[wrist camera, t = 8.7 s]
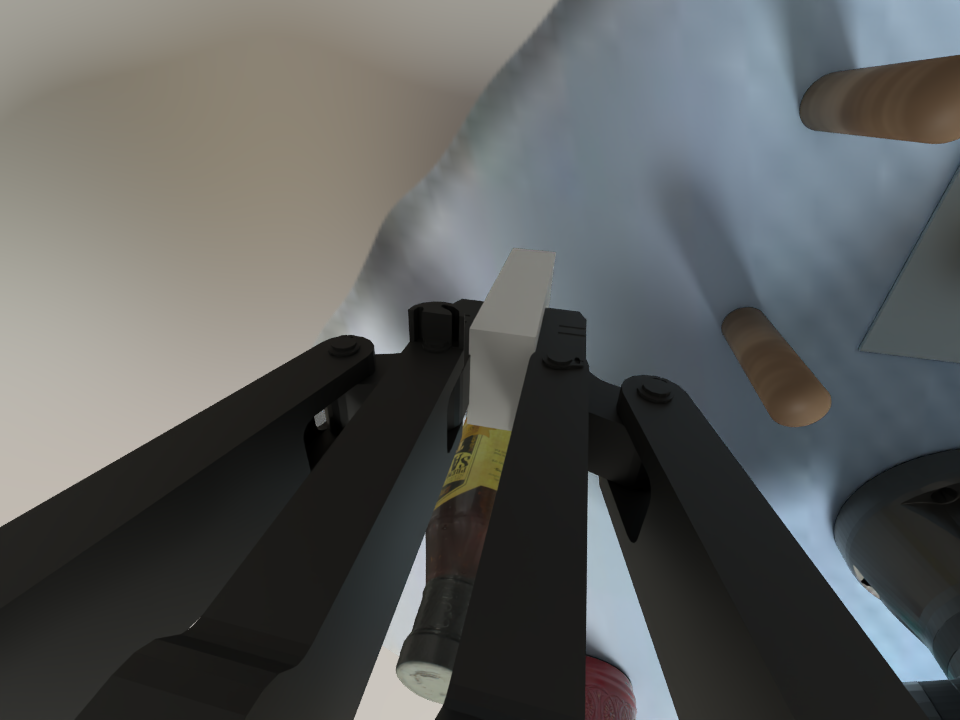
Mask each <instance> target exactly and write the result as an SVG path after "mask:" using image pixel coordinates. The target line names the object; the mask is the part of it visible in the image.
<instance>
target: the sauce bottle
mask: <svg viewBox="0 0 960 720" xmlns="http://www.w3.org/2000/svg"><path fill="white" fill-rule="evenodd" d="M511 432H512V431H507V430H501V429H496V428H490V427H484V426H478V425H472V424H467V417H466V420H465V423H464V425H463V431H462V438H461V441H460V443H459V446H458V448H457V451H456V454H455V456H454V459H453V461H452V464H451V467H450V469H449V472H448V474H447V477H446V480H445V482H444V485H443V488H442V490H441V493H440V495H439V498H438V501H437V503H436V506H435V508H434V511H433V514H432V516H431V519H430V521H429V524H428V527H427V529H426V587H425V588H424V591H423V597H422V601H421V605H420V607H419V610H418V613H417V616H416V618H415V622H414V625H413V629H412V632H411V633H410V634H409V636H408V637H407V638H406V640H405V641H404V643H403V646H402V649H401V652H400V656H399V660H398V663H397V666H396V674H397V677H398V678H399V680H400V681H401V682H402V683H403V684H404V685H405V686H406V687H407V688H408V689H410V690H411V691H413V692H414V693H416V694H417V695H419V696H421V697H423V698H425V699H427V700H431V701H434V702H437V703H441V704H443V703H444V700H445V698H446V694H447V690H448V687H449V683H450V679H451V675H452V671H453V667H454V663H455V659H456V654H457V650H458V646H459V642H460V638H461V634H462V630H463V626H464V622H465V618H466V614H467V610H468V606H469V602H470V598H471V594H472V590H473V586H474V582H475V577H476V573H477V569H478V565H479V561H480V557H481V553H482V549H483V545H484V541H485V537H486V533H487V529H488V525H489V521H490V517H491V513H492V509H493V505H494V500H495V496H496V492H497V488H498V484H499V480H500V476H501V472H502V468H503V464H504V460H505V456H506V452H507V448H508V444H509V440H510V436H511Z"/></svg>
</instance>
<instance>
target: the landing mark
mask: <svg viewBox="0 0 960 720" xmlns="http://www.w3.org/2000/svg"><path fill="white" fill-rule="evenodd" d="M858 350H859V351H864V352H872V353H880V354H888V355H896V356H905V357H913V358H921V359H929V360H937V361H946V362H954V363H960V166H959V168H958V170H957V171H956V173H955V175H954V177H953V179H952V180H951V182H950V184H949V186H948V188H947V189H946V191H945V193H944V195H943V197H942V199H941V200H940V202H939V204H938V206H937V208H936V209H935V211H934V213H933V215H932V217H931V218H930V220H929V222H928V224H927V226H926V228H925V229H924V231H923V233H922V235H921V237H920V238H919V240H918V242H917V244H916V246H915V247H914V249H913V251H912V253H911V255H910V257H909V258H908V260H907V262H906V264H905V266H904V267H903V269H902V271H901V273H900V275H899V276H898V278H897V280H896V282H895V284H894V285H893V287H892V289H891V291H890V293H889V295H888V296H887V298H886V300H885V302H884V304H883V305H882V307H881V309H880V311H879V313H878V314H877V316H876V318H875V320H874V322H873V324H872V325H871V327H870V329H869V331H868V333H867V334H866V336H865V338H864V340H863V342H862V343H861V345H860V347H859V349H858Z"/></svg>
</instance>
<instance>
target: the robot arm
mask: <svg viewBox="0 0 960 720" xmlns="http://www.w3.org/2000/svg"><path fill="white" fill-rule="evenodd" d="M555 256H556V252H549V251H539V250H529V249H519V248H513V249H512V251H511V253H510V255H509V257H508V258H507V260H506V262H505V264H504V266H503V268H502V270H501V271H500V273H499V275H498V277H497V279H496V281H495V282H494V284H493V286H492V288H491V290H490V292H489V293H488V295H487V297H486V299H485V301H476V300H467V299H461V300H459V301H457V302H455V303H453V304H451V303H446V302H426V303H421V304H418V305H415V306H413V307H411V308H410V309H408V316H409V335H410V342H409V343H408V345H407V346H406V347H405V349H404V350H403V351H402V353H396V354H375V351H374V345H373V343H372V342H371V341H370V340H368V339H366V338H364V337H359V336H355V335H348V336H347V335H342V336H339V337H335V338H331V339H328V340H326V341H324V342H322V343H320V344H318V345H316V346H315V347H313V348H311V349H309V350H308V351H306V352H304V353H303V354H301V355H299V356H297V357H296V358H294V359H292V360H290V361H289V362H287V363H285V364H283V365H282V366H280V367H278V368H276V369H275V370H273V371H271V372H269V373H268V374H266V375H264V376H263V377H261V378H259V379H257V380H255V381H254V382H252V383H250V384H249V385H247V386H245V387H243V388H242V389H240V390H238V391H236V392H235V393H233V394H231V395H230V396H228V397H226V398H224V399H222V400H221V401H219V402H217V403H216V404H214V405H212V406H210V407H209V408H207V409H205V410H203V411H202V412H200V413H198V414H196V415H195V416H193V417H191V418H189V419H188V420H186V421H184V422H183V423H181V424H179V425H177V426H175V427H174V428H172V429H170V430H169V431H167V432H165V433H163V434H162V435H160V436H158V437H156V438H155V439H153V440H151V441H149V442H148V443H146V444H144V445H143V446H141V447H139V448H137V449H135V450H134V451H132V452H130V453H128V454H127V455H125V456H123V457H122V458H120V459H118V460H116V461H115V462H113V463H111V464H109V465H108V466H106V467H104V468H102V469H101V470H99V471H97V472H95V473H94V474H92V475H90V476H88V477H87V478H85V479H83V480H82V481H80V482H78V483H76V484H75V485H73V486H71V487H69V488H68V489H66V490H64V491H62V492H61V493H59V494H57V495H55V496H54V497H52V498H50V499H49V500H47V501H45V502H43V503H42V504H40V505H38V506H36V507H35V508H33V509H31V510H29V511H28V512H26V513H24V514H22V515H21V516H19V517H17V518H15V519H14V520H12V521H10V522H8V523H7V524H5V525H3V526H1V527H0V720H354V717H355V714H356V712H357V709H358V707H359V704H360V701H361V699H362V696H363V694H364V691H365V688H366V686H367V683H368V680H369V678H370V675H371V673H372V670H373V667H374V665H375V662H376V660H377V657H378V654H379V652H380V649H381V647H382V644H383V641H384V639H385V636H386V634H387V631H388V628H389V626H390V623H391V621H392V618H393V615H394V613H395V610H396V607H397V605H398V602H399V600H400V597H401V594H402V592H403V589H404V587H405V584H406V581H407V579H408V576H409V574H410V571H411V568H412V566H413V563H414V561H415V558H416V555H417V553H418V550H419V547H420V545H421V542H422V540H423V537H424V534H425V532H426V529H427V527H428V524H429V521H430V519H431V516H432V514H433V511H434V508H435V506H436V503H437V501H438V498H439V495H440V493H441V490H442V488H443V485H444V482H445V480H446V477H447V474H448V472H449V469H450V467H451V464H452V461H453V459H454V456H455V454H456V451H457V448H458V446H459V443H460V441H461V438H462V431H463V418H464V415H465V413H466V410H467V424H472V425H478V426H484V427H490V428H496V429H501V430H507V431H512V432H511V436H510V440H509V444H508V448H507V452H506V456H505V460H504V464H503V468H502V472H501V476H500V480H499V484H498V488H497V492H496V496H495V500H494V505H493V509H492V513H491V517H490V521H489V525H488V529H487V533H486V537H485V541H484V545H483V549H482V553H481V557H480V561H479V565H478V569H477V573H476V577H475V582H474V586H473V590H472V594H471V598H470V602H469V606H468V610H467V614H466V618H465V622H464V626H463V630H462V634H461V638H460V642H459V646H458V650H457V654H456V659H455V663H454V667H453V671H452V675H451V679H450V683H449V687H448V690H447V694H446V698H445V700H444V703H443V706H442V708H441V710H440V712H439V713H438V715H437V717H436V718H435V720H585V683H586V593H587V504H588V471H589V472H591V473H594V474H596V475H598V476H599V485H600V488H601V491H602V494H603V497H604V500H605V503H606V506H607V509H608V512H609V515H610V518H611V521H612V524H613V527H614V529H615V532H616V535H617V538H618V541H619V544H620V547H621V550H622V553H623V556H624V559H625V562H626V565H627V568H628V571H629V574H630V577H631V580H632V583H633V586H634V589H635V591H636V594H637V597H638V600H639V603H640V606H641V609H642V612H643V615H644V618H645V621H646V624H647V627H648V630H649V633H650V636H651V639H652V642H653V645H654V648H655V651H656V654H657V656H658V659H659V662H660V665H661V668H662V671H663V674H664V677H665V680H666V683H667V686H668V689H669V692H670V695H671V698H672V701H673V704H674V707H675V710H676V713H677V716H678V718H679V720H960V449H957V450H950V451H945V452H940V453H936V454H932V455H928V456H924V457H921V458H917V459H914V460H911V461H908V462H906V463H903V464H901V465H898V466H896V467H894V468H891V469H889V470H887V471H885V472H883V473H882V474H880V475H878V476H876V477H875V478H873V479H872V480H870V481H868V482H867V483H866V484H864V485H863V486H862V487H861V488H859V489H858V490H857V491H856V492H855V493H854V494H853V495H852V496H851V497H850V498H849V499H848V500H847V501H846V503H845V504H844V505H843V507H842V509H841V510H840V512H839V514H838V516H837V519H836V523H835V529H834V536H835V541H836V544H837V547H838V549H839V551H840V553H841V554H842V556H843V558H844V560H845V561H846V563H847V565H848V567H849V569H850V570H851V572H852V574H853V575H854V576H855V577H856V579H857V580H858V581H859V582H860V583H861V585H862V586H863V587H864V588H866V589H867V590H868V591H869V592H870V593H871V594H873V595H874V596H875V597H877V598H878V599H880V600H881V601H882V602H883V604H884V605H885V606H886V607H887V608H888V609H889V610H890V611H891V612H892V614H893V615H894V616H895V617H896V618H897V619H898V620H899V621H900V622H901V623H902V624H903V625H904V626H906V627H907V628H908V629H909V630H910V631H911V632H912V633H913V634H914V635H915V636H916V637H917V638H918V639H919V640H920V641H921V642H922V643H923V644H924V645H925V646H926V647H927V648H928V649H929V650H930V651H931V653H932V655H933V656H934V658H935V659H936V661H937V662H938V664H939V665H940V667H941V669H942V670H943V672H944V673H945V675H946V676H947V678H948V680H938V681H923V682H917V681H916V682H901V681H900V679H899V678H898V677H897V675H896V674H895V672H894V671H893V670H892V668H891V667H890V666H889V664H888V663H887V662H886V660H885V659H884V658H883V656H882V655H881V654H880V652H879V651H878V650H877V648H876V647H875V646H874V644H873V643H872V642H871V640H870V639H869V638H868V636H867V635H866V633H865V632H864V631H863V629H862V628H861V627H860V625H859V624H858V623H857V621H856V620H855V619H854V617H853V616H852V615H851V613H850V612H849V611H848V609H847V608H846V607H845V605H844V604H843V603H842V601H841V600H840V598H839V597H838V596H837V594H836V593H835V592H834V590H833V589H832V588H831V586H830V585H829V584H828V582H827V581H826V580H825V578H824V577H823V576H822V574H821V573H820V572H819V570H818V569H817V568H816V566H815V565H814V564H813V562H812V561H811V559H810V558H809V557H808V555H807V554H806V553H805V551H804V550H803V549H802V547H801V546H800V545H799V543H798V542H797V541H796V539H795V538H794V537H793V535H792V534H791V533H790V531H789V530H788V529H787V527H786V526H785V525H784V523H783V522H782V520H781V519H780V518H779V516H778V515H777V514H776V512H775V511H774V510H773V508H772V507H771V506H770V504H769V503H768V502H767V500H766V499H765V498H764V496H763V495H762V494H761V492H760V491H759V490H758V488H757V487H756V485H755V484H754V483H753V481H752V480H751V479H750V477H749V476H748V475H747V473H746V472H745V471H744V469H743V468H742V467H741V465H740V464H739V463H738V461H737V460H736V459H735V457H734V456H733V455H732V453H731V452H730V451H729V449H728V448H727V446H726V445H725V444H724V442H723V441H722V440H721V438H720V437H719V436H718V434H717V433H716V432H715V430H714V429H713V428H712V426H711V425H710V424H709V422H708V421H707V420H706V418H705V417H704V416H703V414H702V413H701V412H700V410H699V409H698V407H697V406H696V405H695V403H694V402H693V401H692V399H691V398H690V397H689V395H688V394H687V393H686V392H685V391H684V390H683V389H682V388H681V387H680V386H678V385H676V384H674V383H672V382H671V381H669V380H667V379H664V378H660V377H657V376H647V375H639V376H632V377H630V378H628V379H625V381H624V382H623V384H622V385H621V387H618V386H615V385H612V384H609V383H607V382H604V381H602V380H600V379H599V378H597V377H595V376H594V375H593V374H592V373H591V372H590V371H589V365H588V362H587V360H586V319H585V318H584V317H583V315H582V314H581V313H580V312H578V311H569V310H561V309H553V308H549V303H550V295H551V287H552V279H553V271H554V264H555ZM323 409H324V410H325V415H326V422H325V423H324V424H322V425H321V426H319V427H317V426H316V424H315V419H314V416H315V415H316V414H318V413H319V412H321V411H322V410H323ZM197 620H198V621H197ZM196 621H197V622H196ZM195 622H196V623H195ZM194 623H195V624H194ZM193 624H194V625H193ZM192 625H193V626H192ZM191 626H192V627H191ZM190 627H191V628H190Z"/></svg>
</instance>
